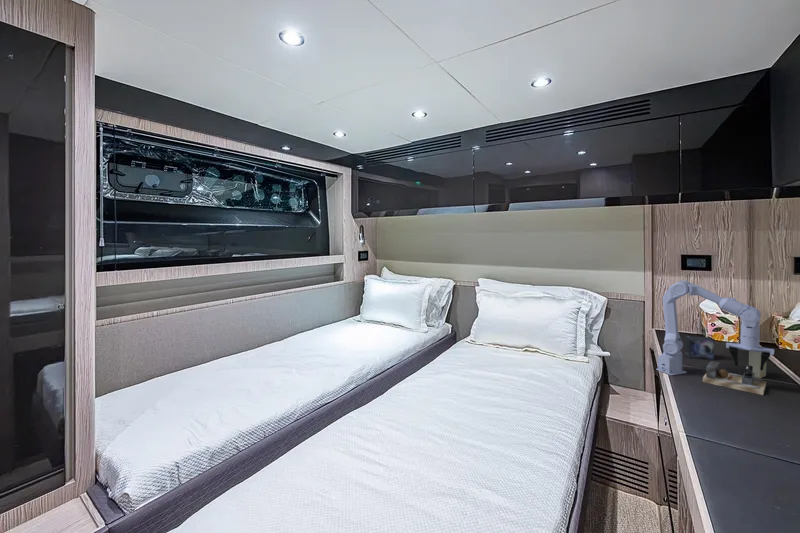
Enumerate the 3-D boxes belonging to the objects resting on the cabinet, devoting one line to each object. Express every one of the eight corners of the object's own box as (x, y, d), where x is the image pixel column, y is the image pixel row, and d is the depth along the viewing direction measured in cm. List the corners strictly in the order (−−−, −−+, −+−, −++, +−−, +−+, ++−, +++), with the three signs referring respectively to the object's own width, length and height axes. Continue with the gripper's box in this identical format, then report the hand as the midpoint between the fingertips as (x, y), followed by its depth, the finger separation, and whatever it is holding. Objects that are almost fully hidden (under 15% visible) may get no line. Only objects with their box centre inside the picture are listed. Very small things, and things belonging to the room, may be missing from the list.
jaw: (741, 384, 151) (742, 367, 150) (744, 377, 157) (745, 362, 156) (751, 386, 149) (752, 369, 148) (754, 379, 154) (755, 363, 154)
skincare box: (760, 378, 160) (761, 352, 159) (747, 375, 164) (748, 349, 163) (766, 375, 163) (767, 349, 162) (753, 372, 167) (754, 347, 166)
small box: (689, 358, 188) (690, 339, 187) (684, 354, 194) (685, 335, 193) (714, 360, 184) (715, 340, 183) (708, 356, 190) (709, 336, 189)
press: (702, 381, 160) (703, 366, 159) (708, 374, 167) (708, 359, 167) (763, 395, 145) (763, 378, 144) (766, 386, 153) (766, 370, 152)
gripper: (725, 335, 154) (724, 365, 155) (773, 341, 143) (772, 374, 144) (728, 331, 158) (727, 361, 159) (775, 337, 147) (774, 369, 148)
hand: (748, 367), depth 152 cm, fingers open, 7 cm apart
